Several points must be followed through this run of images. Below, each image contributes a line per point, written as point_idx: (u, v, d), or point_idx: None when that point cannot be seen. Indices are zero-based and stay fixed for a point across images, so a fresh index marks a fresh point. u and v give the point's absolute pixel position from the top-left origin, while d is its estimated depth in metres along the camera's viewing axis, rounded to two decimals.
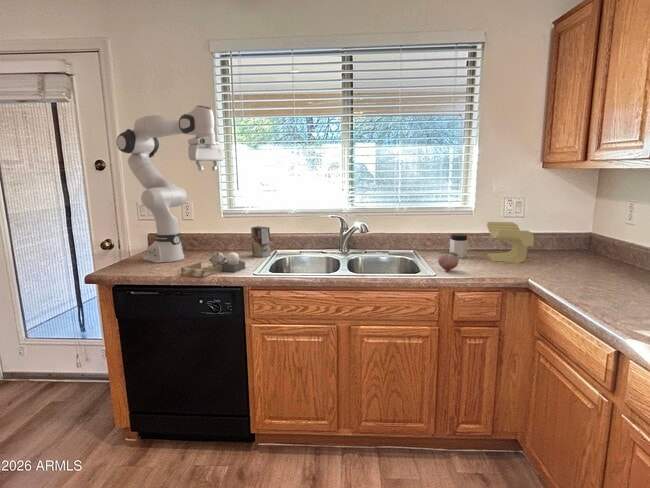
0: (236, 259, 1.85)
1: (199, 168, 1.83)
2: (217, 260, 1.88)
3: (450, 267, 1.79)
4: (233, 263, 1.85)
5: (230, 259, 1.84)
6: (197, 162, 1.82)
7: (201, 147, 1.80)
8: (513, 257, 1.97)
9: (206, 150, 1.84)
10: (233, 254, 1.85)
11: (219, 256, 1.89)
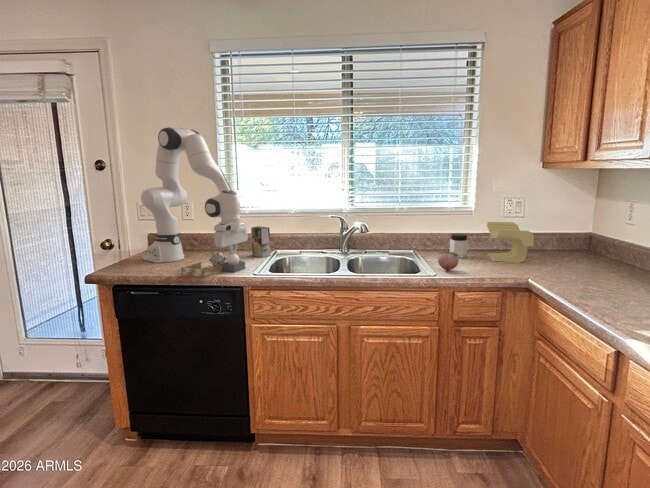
0: (236, 260, 1.85)
1: (230, 252, 1.85)
2: (217, 260, 1.88)
3: (450, 267, 1.79)
4: (233, 264, 1.85)
5: (230, 260, 1.84)
6: (228, 246, 1.83)
7: (227, 233, 1.78)
8: (513, 257, 1.97)
9: (232, 235, 1.82)
10: (233, 255, 1.85)
11: (219, 256, 1.89)
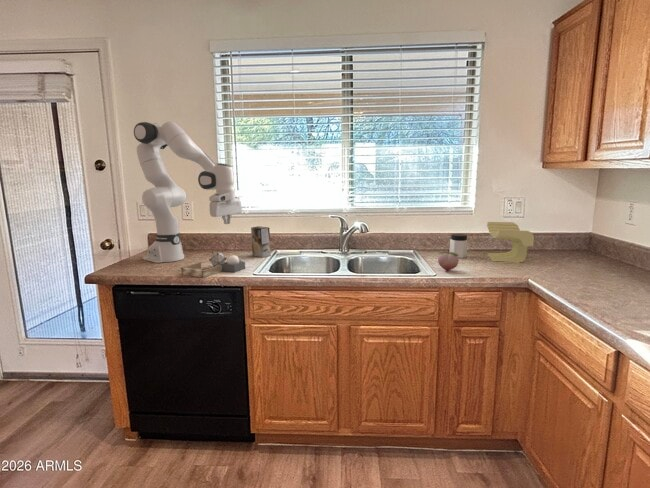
0: (236, 262, 1.85)
1: (225, 222, 1.95)
2: (217, 260, 1.88)
3: (450, 267, 1.79)
4: None
5: (230, 262, 1.84)
6: (223, 217, 1.93)
7: (221, 204, 1.88)
8: (513, 257, 1.97)
9: (226, 205, 1.92)
10: (233, 257, 1.85)
11: (219, 256, 1.89)
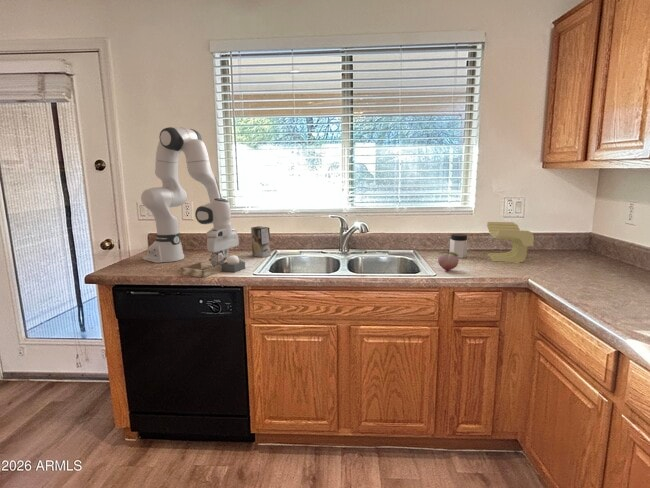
0: (236, 262, 1.85)
1: None
2: (217, 260, 1.88)
3: (450, 267, 1.79)
4: None
5: (230, 262, 1.84)
6: None
7: (219, 239, 1.88)
8: (513, 257, 1.97)
9: (223, 240, 1.92)
10: (233, 257, 1.85)
11: (219, 256, 1.89)
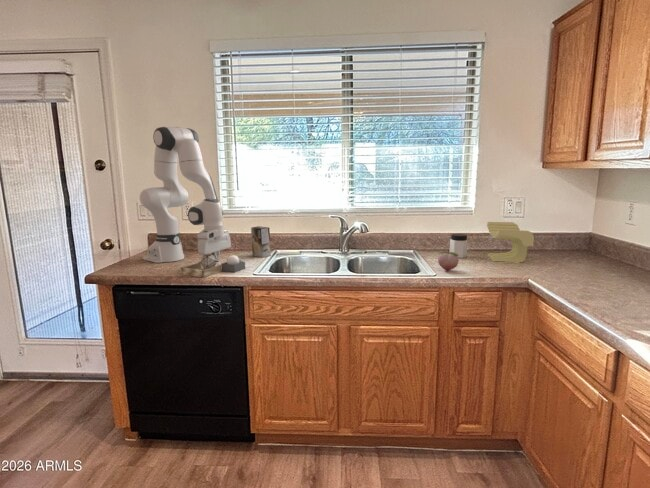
0: (236, 262, 1.85)
1: None
2: (206, 263, 1.83)
3: (450, 267, 1.79)
4: None
5: (230, 262, 1.84)
6: None
7: (210, 241, 1.82)
8: (513, 257, 1.97)
9: (215, 242, 1.86)
10: (233, 257, 1.85)
11: (209, 259, 1.83)
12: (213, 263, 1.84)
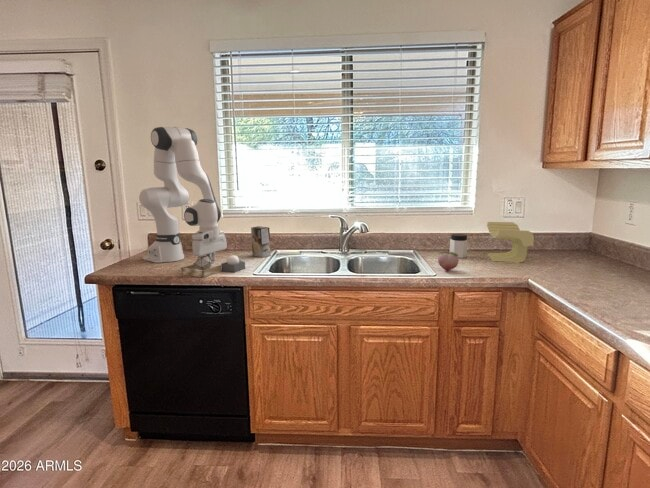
0: (236, 262, 1.85)
1: None
2: (201, 265, 1.80)
3: (450, 267, 1.79)
4: None
5: (230, 262, 1.84)
6: None
7: (205, 242, 1.79)
8: (513, 257, 1.97)
9: (210, 243, 1.83)
10: (233, 257, 1.85)
11: (203, 261, 1.80)
12: (207, 265, 1.81)
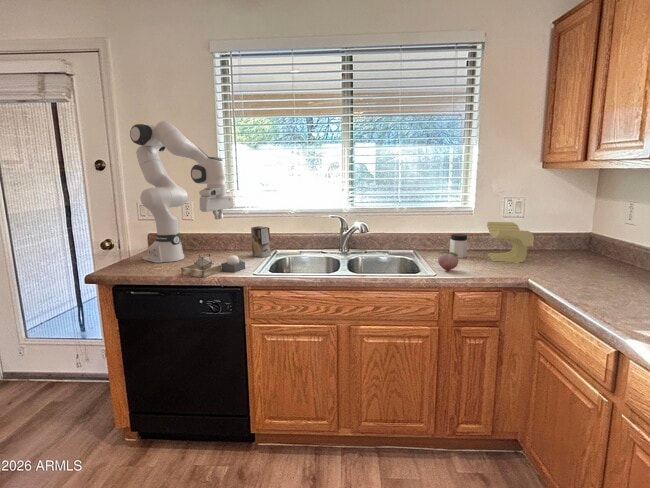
0: (236, 262, 1.85)
1: (215, 217, 1.90)
2: (201, 264, 1.80)
3: (450, 267, 1.79)
4: None
5: (230, 262, 1.84)
6: (214, 212, 1.89)
7: (212, 198, 1.84)
8: (513, 257, 1.97)
9: (217, 200, 1.88)
10: (233, 257, 1.85)
11: (204, 260, 1.81)
12: (208, 265, 1.82)
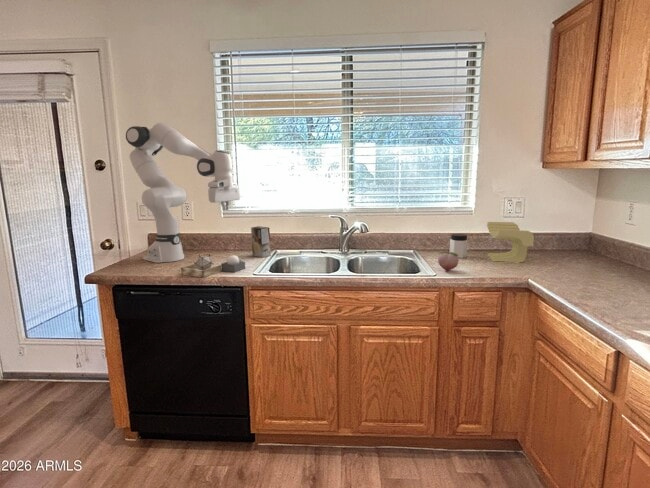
0: (236, 262, 1.85)
1: (223, 208, 1.99)
2: (201, 264, 1.80)
3: (450, 267, 1.79)
4: None
5: (230, 262, 1.84)
6: (222, 203, 1.97)
7: (220, 190, 1.92)
8: (513, 257, 1.97)
9: (225, 192, 1.96)
10: (233, 257, 1.85)
11: (204, 260, 1.81)
12: (208, 265, 1.82)
